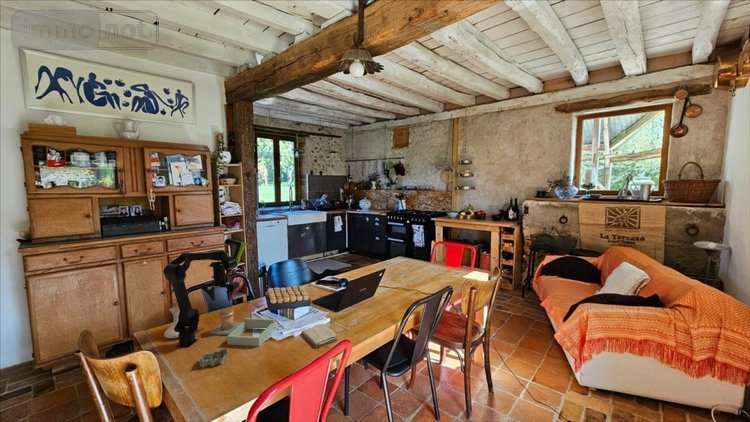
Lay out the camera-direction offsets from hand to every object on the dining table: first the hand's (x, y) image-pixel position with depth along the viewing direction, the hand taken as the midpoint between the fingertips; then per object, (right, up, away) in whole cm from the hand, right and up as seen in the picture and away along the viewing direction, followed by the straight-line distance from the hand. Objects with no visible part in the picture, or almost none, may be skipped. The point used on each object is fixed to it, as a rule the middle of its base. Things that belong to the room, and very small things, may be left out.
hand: (221, 301), depth 170 cm
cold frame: (+22, -13, -15) cm, 30 cm away
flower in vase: (-16, -14, -10) cm, 24 cm away
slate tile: (+6, -13, -6) cm, 16 cm away
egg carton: (+14, -16, -35) cm, 41 cm away
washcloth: (+56, -13, -16) cm, 60 cm away
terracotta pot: (+6, -12, -7) cm, 15 cm away
